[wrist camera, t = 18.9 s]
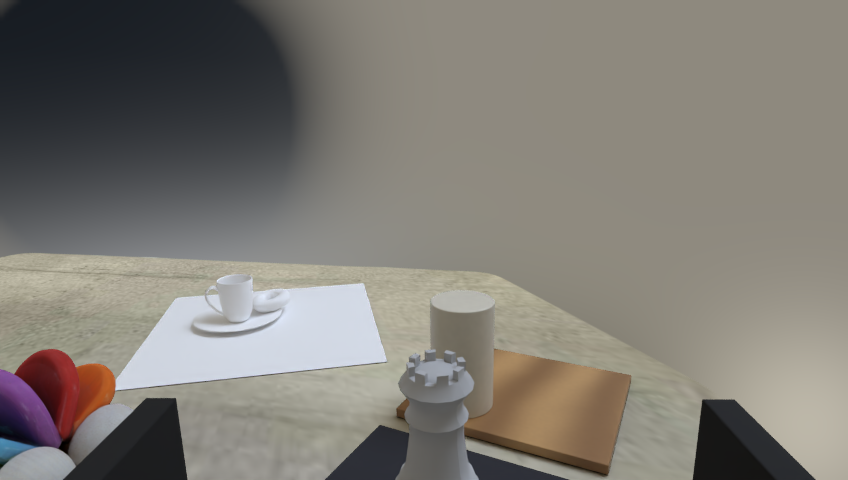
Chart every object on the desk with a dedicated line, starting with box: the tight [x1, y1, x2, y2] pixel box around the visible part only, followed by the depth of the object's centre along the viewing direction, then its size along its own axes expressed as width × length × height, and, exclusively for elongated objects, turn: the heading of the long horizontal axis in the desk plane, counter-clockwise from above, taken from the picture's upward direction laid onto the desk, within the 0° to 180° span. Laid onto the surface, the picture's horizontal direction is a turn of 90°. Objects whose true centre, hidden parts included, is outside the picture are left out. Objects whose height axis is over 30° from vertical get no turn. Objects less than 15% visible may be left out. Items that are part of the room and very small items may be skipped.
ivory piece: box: [430, 290, 495, 419], centre depth 34 cm, size 4×4×7 cm
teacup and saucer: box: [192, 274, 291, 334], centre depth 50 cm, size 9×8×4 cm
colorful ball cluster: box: [0, 349, 134, 480], centre depth 27 cm, size 8×10×7 cm
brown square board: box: [397, 349, 631, 475], centre depth 36 cm, size 13×11×1 cm
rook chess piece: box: [395, 349, 479, 480], centre depth 24 cm, size 4×4×8 cm
